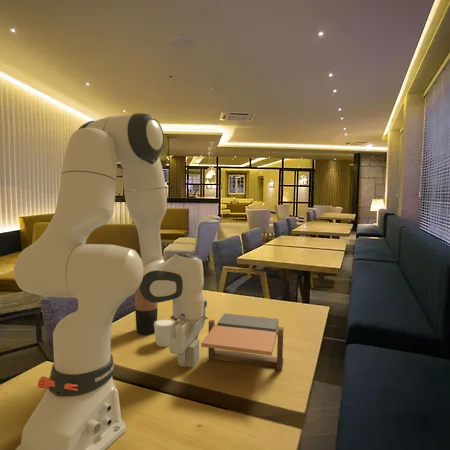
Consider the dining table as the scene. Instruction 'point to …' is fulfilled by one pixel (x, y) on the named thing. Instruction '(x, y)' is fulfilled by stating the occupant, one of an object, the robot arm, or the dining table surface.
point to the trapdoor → (243, 334)
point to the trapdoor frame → (249, 357)
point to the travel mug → (145, 314)
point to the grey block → (192, 354)
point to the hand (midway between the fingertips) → (188, 354)
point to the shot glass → (163, 331)
